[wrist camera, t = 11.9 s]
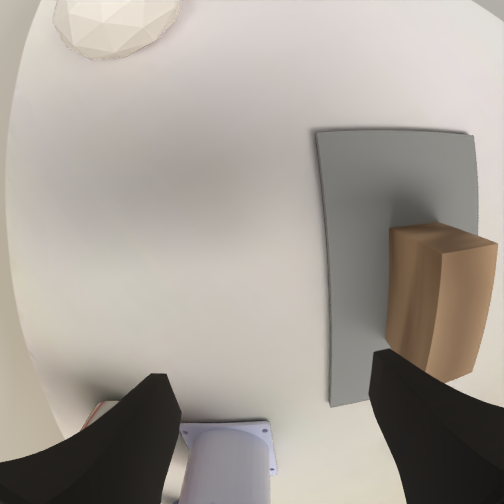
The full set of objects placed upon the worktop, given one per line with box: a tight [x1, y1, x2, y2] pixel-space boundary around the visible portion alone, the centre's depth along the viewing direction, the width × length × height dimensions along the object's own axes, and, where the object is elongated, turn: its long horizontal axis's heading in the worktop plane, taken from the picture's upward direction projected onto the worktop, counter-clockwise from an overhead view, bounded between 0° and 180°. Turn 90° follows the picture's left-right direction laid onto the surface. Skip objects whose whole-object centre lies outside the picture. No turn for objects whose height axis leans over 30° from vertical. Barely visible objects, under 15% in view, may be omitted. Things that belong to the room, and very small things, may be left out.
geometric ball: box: [52, 0, 182, 60], centre depth 10 cm, size 8×8×8 cm
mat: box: [315, 130, 478, 408], centre depth 18 cm, size 20×12×1 cm, turn 8°
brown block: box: [385, 222, 498, 383], centre depth 14 cm, size 4×8×6 cm, turn 8°
